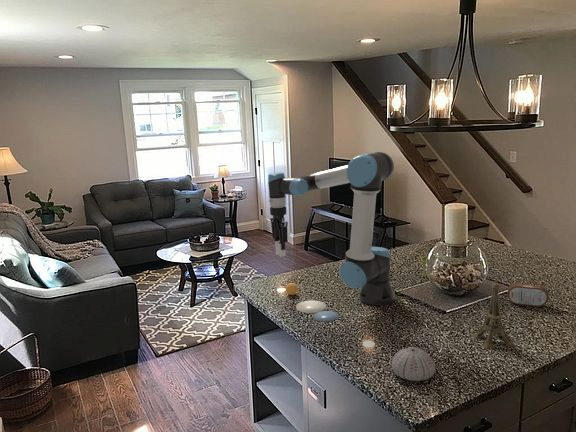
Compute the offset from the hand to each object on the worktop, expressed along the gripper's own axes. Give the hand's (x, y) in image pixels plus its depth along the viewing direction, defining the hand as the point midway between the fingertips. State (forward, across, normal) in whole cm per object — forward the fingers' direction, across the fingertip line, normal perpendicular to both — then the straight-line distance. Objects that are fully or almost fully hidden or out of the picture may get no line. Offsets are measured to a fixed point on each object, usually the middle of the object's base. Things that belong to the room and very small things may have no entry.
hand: (280, 255), depth 222 cm
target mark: (+17, +26, 0) cm, 31 cm away
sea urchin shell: (+17, +90, 0) cm, 91 cm away
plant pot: (+17, +27, +68) cm, 75 cm away
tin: (+17, +75, +74) cm, 107 cm away
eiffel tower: (+17, +88, +37) cm, 97 cm away
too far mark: (+17, +38, 0) cm, 42 cm away
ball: (+14, +10, 0) cm, 17 cm away
